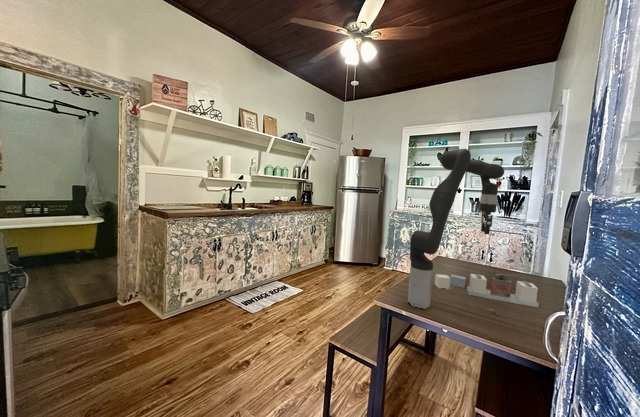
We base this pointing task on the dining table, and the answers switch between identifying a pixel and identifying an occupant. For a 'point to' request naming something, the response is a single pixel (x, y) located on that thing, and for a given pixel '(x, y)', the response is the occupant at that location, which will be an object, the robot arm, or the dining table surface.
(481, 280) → the mounted modules
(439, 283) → the block
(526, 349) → the dining table surface
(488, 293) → the rail
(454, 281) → the block
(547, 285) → the dining table surface
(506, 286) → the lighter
